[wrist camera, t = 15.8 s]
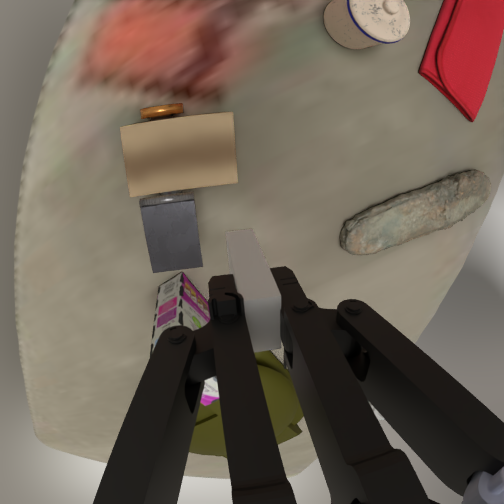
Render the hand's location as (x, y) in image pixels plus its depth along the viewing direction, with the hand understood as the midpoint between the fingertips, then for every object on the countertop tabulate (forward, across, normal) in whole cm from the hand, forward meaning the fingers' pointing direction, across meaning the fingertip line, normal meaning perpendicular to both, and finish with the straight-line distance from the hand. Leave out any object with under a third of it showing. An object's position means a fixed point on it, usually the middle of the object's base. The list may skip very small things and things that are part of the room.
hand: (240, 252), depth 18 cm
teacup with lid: (+28, +21, +22) cm, 41 cm away
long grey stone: (+28, +35, -9) cm, 46 cm away
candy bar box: (+26, -6, -21) cm, 34 cm away
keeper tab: (+18, -6, -6) cm, 20 cm away
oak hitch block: (+27, -4, +3) cm, 27 cm away
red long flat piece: (+29, +49, +29) cm, 64 cm away
